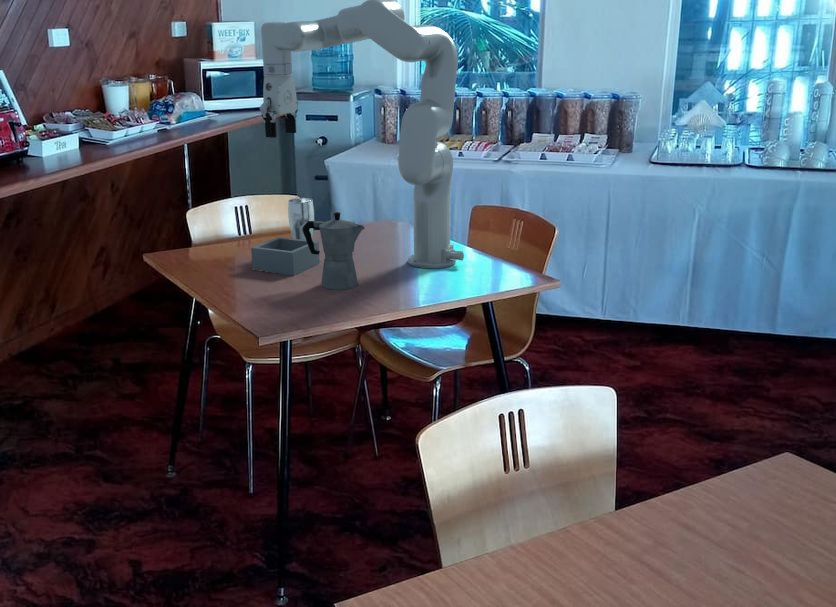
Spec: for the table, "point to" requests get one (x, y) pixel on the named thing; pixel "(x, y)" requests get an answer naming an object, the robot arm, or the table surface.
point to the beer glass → (300, 216)
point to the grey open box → (284, 256)
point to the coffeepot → (336, 251)
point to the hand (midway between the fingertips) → (281, 135)
